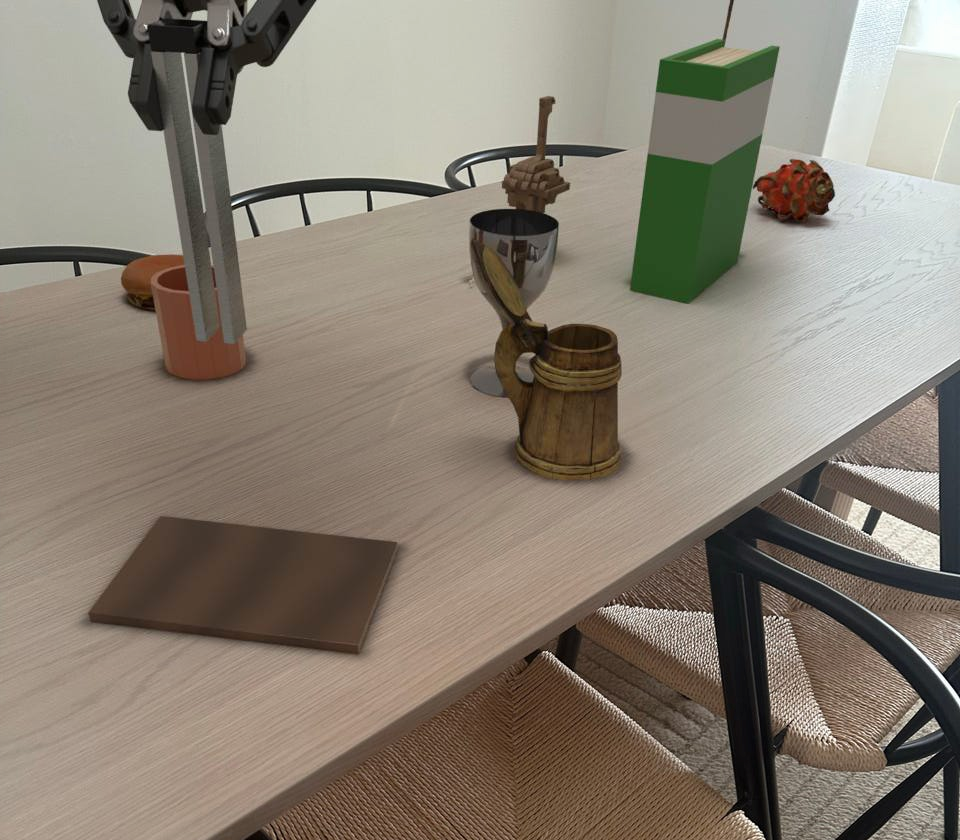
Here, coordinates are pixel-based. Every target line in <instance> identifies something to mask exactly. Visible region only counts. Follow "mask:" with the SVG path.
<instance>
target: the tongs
mask: <svg viewBox="0 0 960 840" xmlns="http://www.w3.org/2000/svg"><path fill="white" fill-rule="evenodd" d="M147 28H148V35H149V41H150V47H151V50H152V51H151V56H152V62H153V67H154V74H155V80H156V87H157V93H158V99H159V106H160V112H161V118H162V125H163V131H162V132H163V135H164V136H163V137H164V143H165V150H166V155H167V162H168V169H169V175H170V181H171V187H172V193H173V194H172V195H173V200H174V205H175V214H176V219H177V227H178V232H179V237H180V245H181V250H182V251H181V252H182V255H183V258H184V264H185V270H186V277H187V283H188V289H189V296H190V302H191V308H192V315H193V321H194V327H195V334H196V340H197V341H204V342H207V341H208V340H209V339H210V338H211V337H212V335H213V334H214V333H215V332H216V331H217V330H218V329H219V328H220V324H219V317H218V310H217V303H216V296H215V289H214V282H213V275H212V268H211V265H213V266H214V273H215V280H216V288H217V295H218V302H219V309H220V316H221V323H222V330H223V338H224V343H226V344H235V343H236V342H237V341H238V340H239V338H240V337H241V336H242V335H243V336H244V334H245V333H246V331H248V327H247V326H248V325H247V319H246V312H245V302H244V294H243V287H242V286H243V285H242V278H241V271H240V262H239V254H238V246H237V238H236V230H235V222H234V214H233V213H234V212H233V205H232V197H231V189H230V182H229V175H228V173H229V172H228V166H227V165H228V164H227V157H226V148H225V142H224V133H223V125H220V128H219V133H218V135H206V134H203V133H202V131H201V129H200V128H199V126H198V124H197V122H196V121H195V119H194V117H193V113H192V112H191V113H190V109H191V110H192V103H193V97H194V91H195V84H196V78H197V72H198V68H199V61H200V55H201V49H202V47H204V48H208V46H209V41H208V38H207V20H200V19H191V20H185V19H167V18H165V19H162V20H159V21H157V22H154V23H151V24H148V25H147ZM182 54H183V57H182ZM183 58H184V59H183ZM183 60H184V63H183ZM184 65H185V71H184ZM185 72H186V78H185ZM186 80H187V83H186ZM186 84H187V85H186ZM187 87H188V93H187ZM188 94H189V99H188ZM189 100H190V106H189ZM191 114H192V121H191ZM192 124H193V126H192ZM192 127H193V128H192ZM193 130H194V134H193ZM194 137H195V141H194ZM195 144H196V147H195ZM195 148H196V149H195ZM196 151H197V156H196ZM197 158H198V162H197ZM198 165H199V169H198ZM199 173H200V175H199ZM199 176H200V177H199ZM200 181H201V183H200ZM201 186H202V187H201ZM201 189H202V191H201ZM202 195H203V197H202ZM203 202H204V203H203ZM203 204H204V205H203ZM204 208H205V212H204ZM205 216H206V219H205ZM206 222H207V225H206ZM206 226H207V227H206ZM207 230H208V234H207ZM208 237H209V238H208ZM208 239H209V240H208ZM209 245H210V247H209ZM210 252H211V254H210ZM211 259H212V261H211ZM211 262H212V263H211Z"/></svg>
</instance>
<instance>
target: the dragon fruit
mask: <svg viewBox="0 0 960 840" xmlns="http://www.w3.org/2000/svg"><path fill="white" fill-rule="evenodd" d="M789 163H790V164H786V163H785V164H781V165H780V167H779V168H778V169H777V170H775V171H771V172H768V173H767V174H765V175H762V176H759V177H758V178H757V179H756V180H755V181H754V182H753V186H752V190H754V189H756V191H757V192H758V193H762V194H761V195H759V196H758V197H757V202H758V204H759V205H760V206H761V208H762V209H766V210H767V211H769V212H773V213H774V214H775V215H776V216H777V218H778V220H779V221H781V222H783V221H786V220H788V219H790V218H791V217H794V219H795V221H796V222H798V223H799V222H800V223H807V221H808V220H809V217H810V215H814V216H824V215H825V214H827V213H828V212H830V207H829V204H830V203H831V202H832V201H833V200H834V199H835V197H836V191H835V188H834V187H835V186H834V182H833V180H832V178H831V176H830V175H829V173H828V172H826V171H825V170H824V168H823V167H822V166H821V165H820V164H819V163H818V161H816V160H814V159H809V163H808V164H807V163H806V162H805V161H804V160H801V159H795V158H790V159H789Z"/></svg>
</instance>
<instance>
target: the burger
mask: <svg viewBox="0 0 960 840" xmlns="http://www.w3.org/2000/svg"><path fill="white" fill-rule="evenodd" d="M181 265H185V264H184V258H183V254H170V253H169V254H155V255H149V256H145V257H141V258H137V259H134V260H133V261H130V262H129V263H128V264H127V265H126V266H125V268H124V269H123V271H122V273H121V276H120V283H121V284H120V285H121V286H122V288H123V289H124V290H125V291H126V293H127V296H128V297H127V299H128V301H129V302H130V303H131V304H132V305H133V306H135V307H138V308H141V309H144V310H148V311H149V310H151V311H156V310H155V305H154V299H153V293H152V288H151V277H152V276H154V275H155V274H156V273H157V272H160V271H162V270H165V269H167V268H170V267H176V266H181Z"/></svg>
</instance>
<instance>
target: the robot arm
mask: <svg viewBox="0 0 960 840" xmlns="http://www.w3.org/2000/svg"><path fill="white" fill-rule="evenodd" d="M96 1H97V4H98V8H99V11H100V14H101V17H102V21H103V23H104V24H105V26H106V28H107V29H108V31H109V32H110V34H111V35H112V37H113V39H114V40H115V43H117V45H118V47H119V48H120V50H121V51H122V53H123V54H124V56H125V57H127V58H129V59H132V66H131V72H130V77H129V84H128V90H127V97H128V101H129V103H130V105H131V106H132V109H133V110H134V111H135V113H136V115H137V116H138V118H139V119H140V121H141V122H142V123H143V125H144V126H145V128H146V129H147V131H151V132H152V131H153V132H164V131H163V125H162V118H161V112H160V106H159V99H158V93H157V87H156V80H155V74H154V67H153V62H152V56H151V51H152V50H151V47H150V41H149V35H148V28H147V25H148V24H151V23H154V22H157V21H159V20H162V19H165V18H167V19H185V20H192V18H193V13H196V12H202V11H206V13H207V14H206V15H207V17H206V21H207V38H208V41H209V46H208V48H204V47H202V49H201V55H200V61H199V68H198V72H197V78H196V84H195V91H194V97H193V103H192V109H191V114H192V113H193V116H192V118H193V117H194V119H195V121H196V122H197V124H198V126H199V128H200V129H201V131H202V133H203V134H206V135H218V133H219V128H220V125H222V126H226V125H227V123H229V120H230V119H231V117H232V110H233V104H234V97H235V92H236V84H237V78H238V74H241V72H242V71H243V69H244V67H245V66H248V65H251V64H252V65H253V64H255V63H256V64H257V65H258V66H259V67H261V68H268V67H271V66H272V65H274V63H275V62H276V61H277V60H278V58H279V56H280V55H281V54H282V52H283V51H284V49H285V48H286V46H287V45H288V43H289V42H290V40H291V39H292V37H293V36H294V34H295V33H296V31H297V30H298V28H299V27H300V26H301V24H302V22H303V21H304V20H305V18H306V17H307V15H308V14H309V12H310V11H311V9H312V8H313V7H314V5H315V4H316V2H317V1H318V0H256V1H255V2H254V4H253V5H252V7H251V8H250V9H249V10H248V1H249V0H141V3H140V7H139V9H138V12H137V16H136V17H135V14H134V11H133V9H132V6H131V3H130V0H96Z"/></svg>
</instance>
